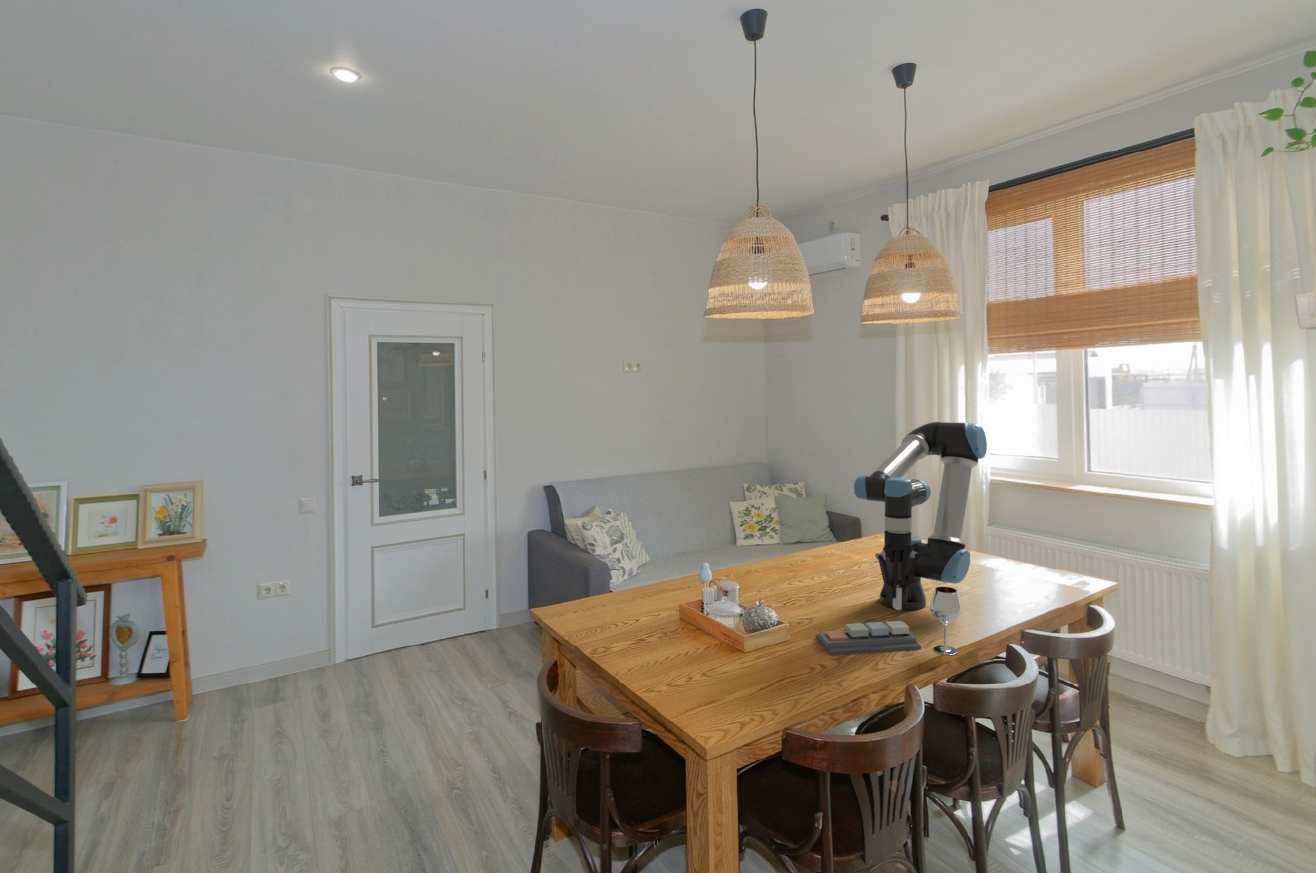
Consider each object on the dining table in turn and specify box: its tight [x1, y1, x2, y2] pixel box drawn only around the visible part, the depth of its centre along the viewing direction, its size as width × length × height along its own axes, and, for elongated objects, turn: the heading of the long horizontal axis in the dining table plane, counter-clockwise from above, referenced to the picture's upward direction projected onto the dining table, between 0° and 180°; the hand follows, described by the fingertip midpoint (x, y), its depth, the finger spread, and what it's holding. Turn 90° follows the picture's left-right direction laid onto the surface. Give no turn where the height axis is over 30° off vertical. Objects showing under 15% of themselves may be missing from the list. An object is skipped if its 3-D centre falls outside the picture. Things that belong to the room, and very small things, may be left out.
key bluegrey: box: [865, 621, 889, 636], centre depth 200 cm, size 5×5×2 cm
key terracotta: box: [825, 630, 848, 641], centre depth 199 cm, size 5×5×2 cm
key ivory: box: [885, 620, 910, 634], centre depth 201 cm, size 5×5×2 cm
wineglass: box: [929, 586, 962, 656], centre depth 193 cm, size 8×8×18 cm
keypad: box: [815, 630, 922, 656], centre depth 200 cm, size 27×13×2 cm, turn 95°
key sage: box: [845, 622, 868, 637], centre depth 200 cm, size 5×5×2 cm
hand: (897, 608), depth 200 cm, fingers closed
